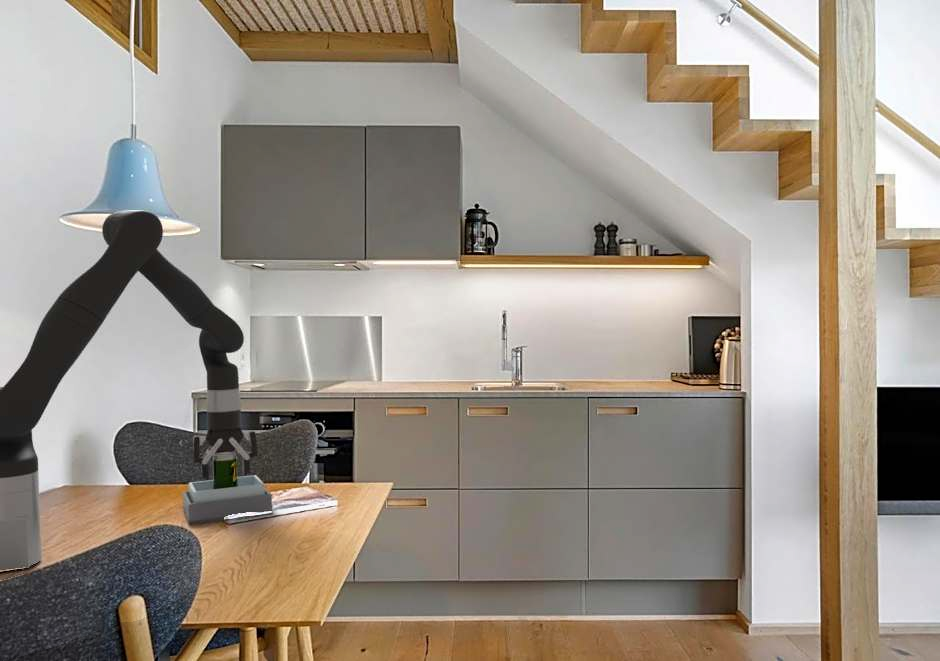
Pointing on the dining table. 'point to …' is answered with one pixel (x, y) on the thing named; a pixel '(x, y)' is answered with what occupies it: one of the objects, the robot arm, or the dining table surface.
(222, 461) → the beer can
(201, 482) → the top crate
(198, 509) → the bottom crate
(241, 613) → the dining table surface
